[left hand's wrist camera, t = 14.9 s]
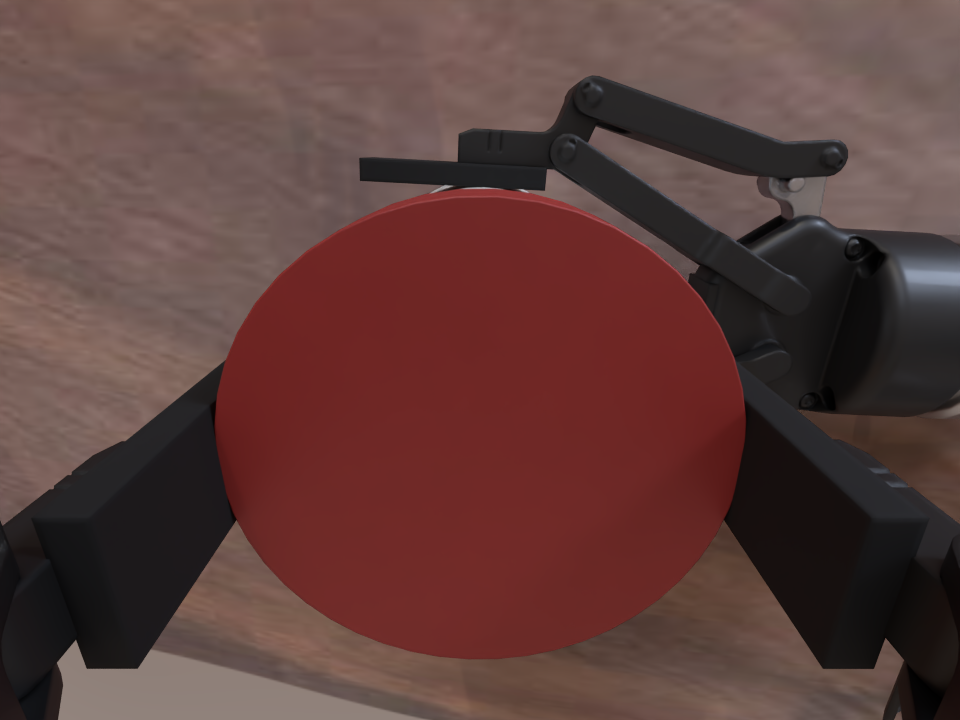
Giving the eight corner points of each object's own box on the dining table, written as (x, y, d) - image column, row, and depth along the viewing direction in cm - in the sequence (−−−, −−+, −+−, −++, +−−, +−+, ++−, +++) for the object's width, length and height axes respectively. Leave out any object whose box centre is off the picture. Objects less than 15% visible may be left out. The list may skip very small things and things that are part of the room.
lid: (246, 567, 14) (212, 627, 12) (260, 140, 10) (214, 137, 8) (632, 622, 14) (654, 686, 13) (779, 241, 11) (837, 258, 9)
